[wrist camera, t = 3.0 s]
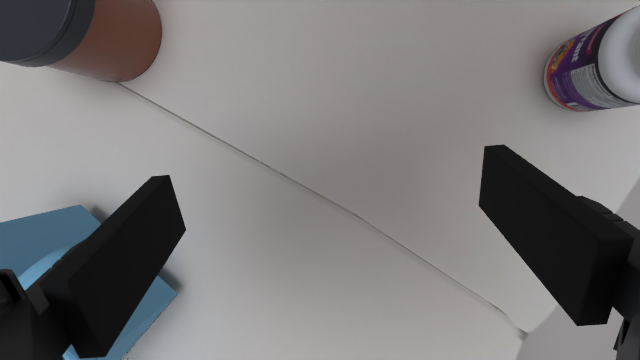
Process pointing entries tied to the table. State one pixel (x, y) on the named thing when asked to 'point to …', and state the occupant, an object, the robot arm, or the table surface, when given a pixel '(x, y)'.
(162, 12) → the table surface
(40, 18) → the jam lid
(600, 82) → the pill bottle
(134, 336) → the teapot
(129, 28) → the jam jar
